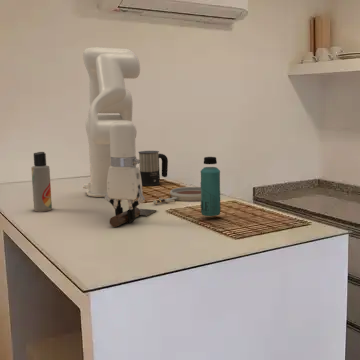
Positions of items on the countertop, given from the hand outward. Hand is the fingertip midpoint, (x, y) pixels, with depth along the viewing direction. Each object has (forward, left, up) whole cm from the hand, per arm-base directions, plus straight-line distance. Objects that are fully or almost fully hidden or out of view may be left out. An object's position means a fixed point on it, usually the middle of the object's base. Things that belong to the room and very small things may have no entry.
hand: (125, 220), depth 154 cm
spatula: (0, +5, 0) cm, 5 cm away
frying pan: (+3, +38, -1) cm, 38 cm away
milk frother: (-25, +68, -1) cm, 72 cm away
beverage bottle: (+24, +12, -1) cm, 27 cm away
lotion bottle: (-35, +7, -1) cm, 36 cm away
